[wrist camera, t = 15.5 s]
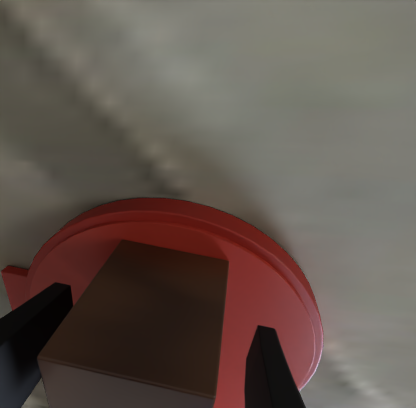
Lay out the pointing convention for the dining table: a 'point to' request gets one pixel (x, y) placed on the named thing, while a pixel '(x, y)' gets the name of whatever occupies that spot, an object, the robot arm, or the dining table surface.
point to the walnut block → (141, 333)
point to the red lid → (202, 245)
